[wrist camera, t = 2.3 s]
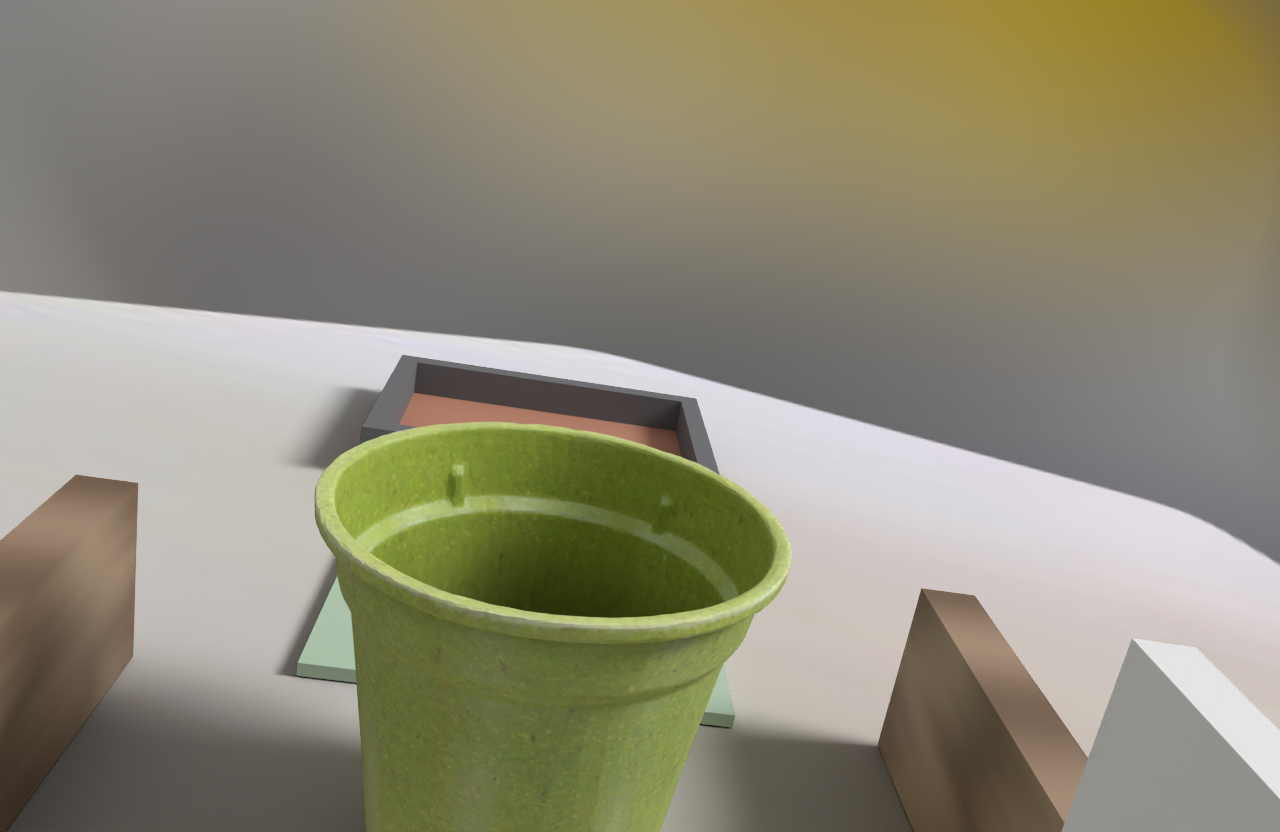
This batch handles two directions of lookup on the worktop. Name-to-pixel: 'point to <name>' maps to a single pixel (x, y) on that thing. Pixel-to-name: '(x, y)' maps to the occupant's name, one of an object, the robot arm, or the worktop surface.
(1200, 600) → the worktop surface
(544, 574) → the plant pot
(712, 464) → the tray
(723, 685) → the pad
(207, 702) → the worktop surface
